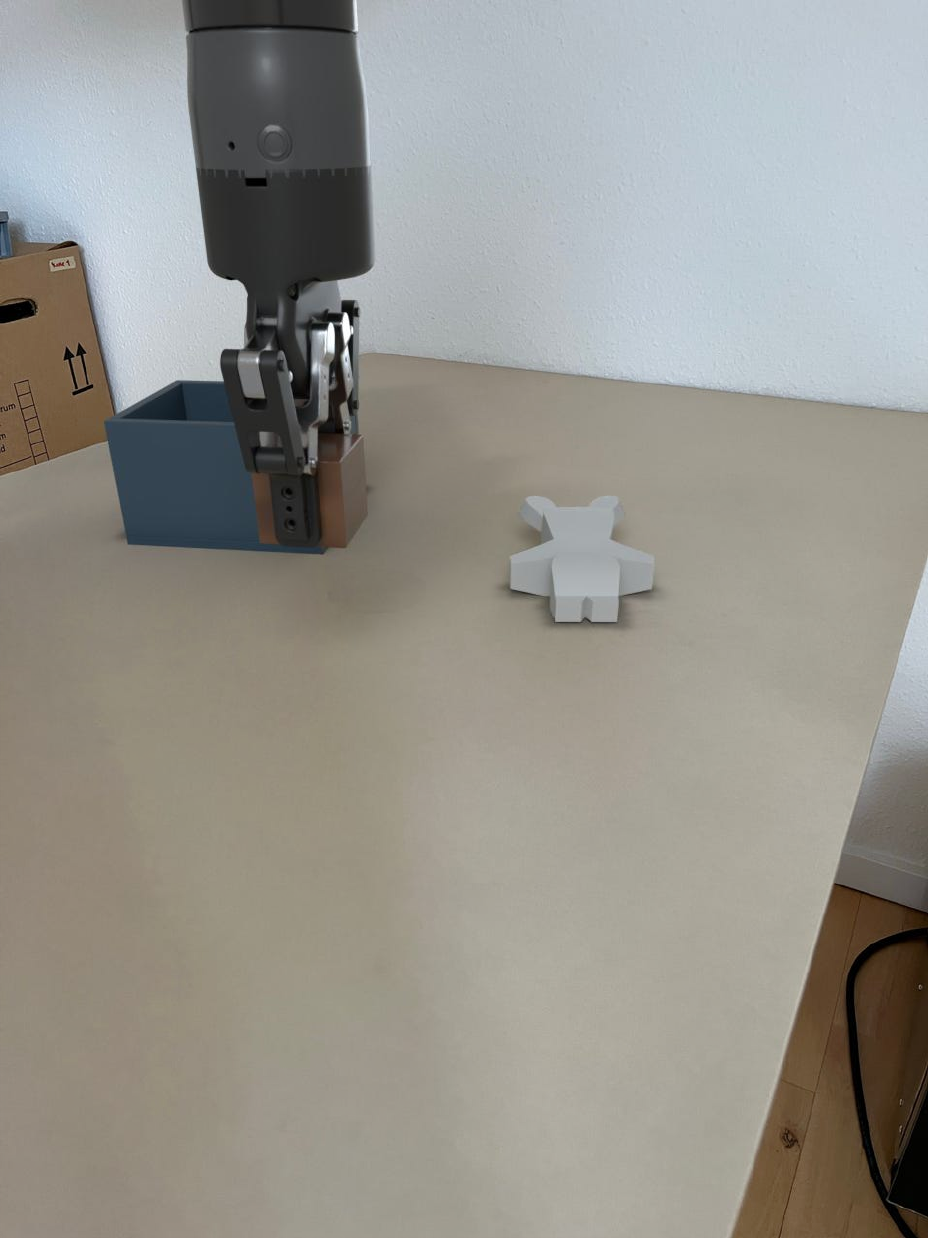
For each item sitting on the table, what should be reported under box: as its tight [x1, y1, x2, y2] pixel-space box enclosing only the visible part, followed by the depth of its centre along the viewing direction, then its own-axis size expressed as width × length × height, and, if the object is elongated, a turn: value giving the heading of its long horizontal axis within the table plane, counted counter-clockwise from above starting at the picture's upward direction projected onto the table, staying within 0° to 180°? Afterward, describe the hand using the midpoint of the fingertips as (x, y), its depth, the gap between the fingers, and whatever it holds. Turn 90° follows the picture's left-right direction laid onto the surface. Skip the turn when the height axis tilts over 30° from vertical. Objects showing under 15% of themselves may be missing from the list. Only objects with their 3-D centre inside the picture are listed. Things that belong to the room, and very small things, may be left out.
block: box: [252, 433, 369, 549], centre depth 48 cm, size 4×4×4 cm
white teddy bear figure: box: [508, 495, 656, 623], centre depth 64 cm, size 10×5×15 cm
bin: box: [103, 379, 360, 556], centre depth 75 cm, size 16×13×10 cm
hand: (314, 523), depth 49 cm, fingers closed on block, 4 cm apart
